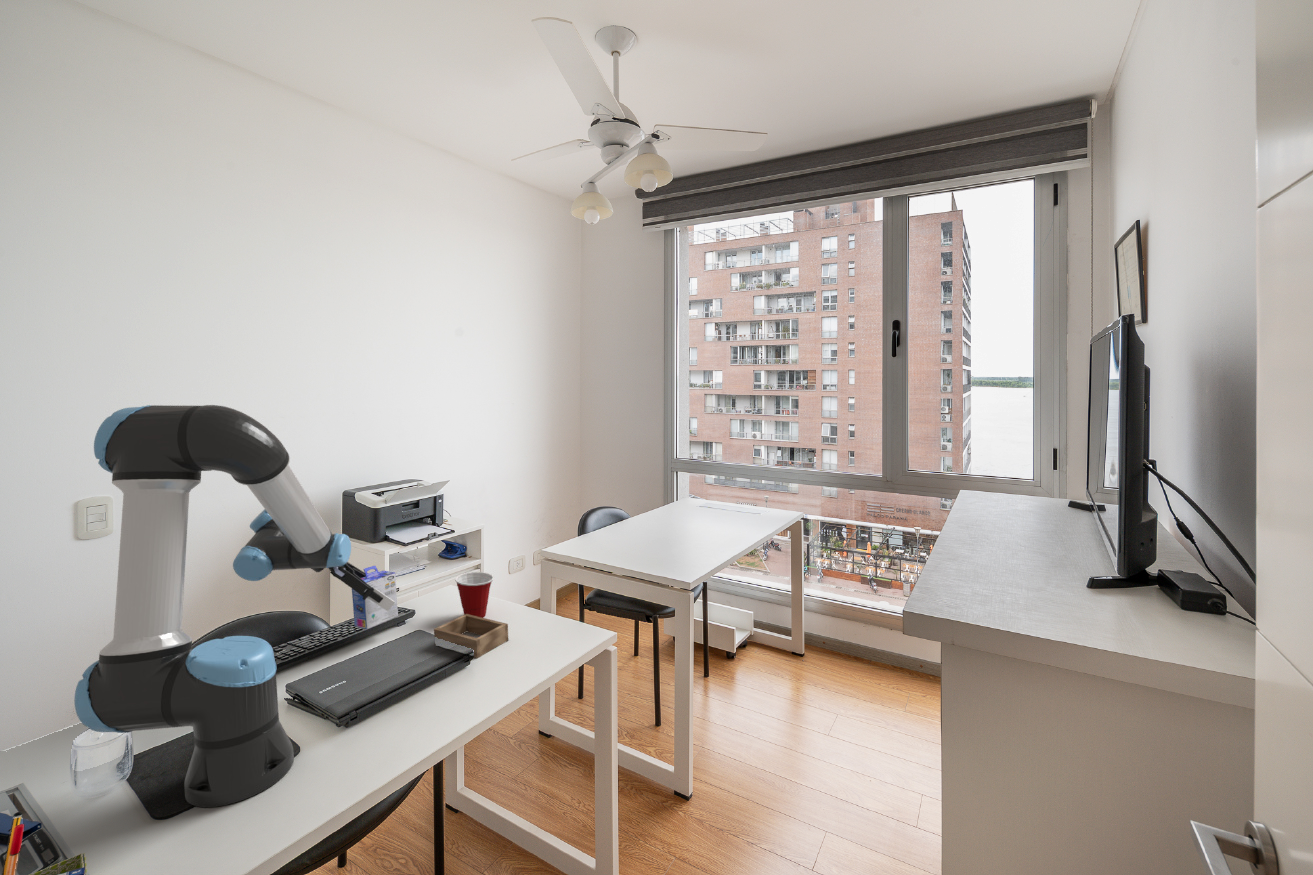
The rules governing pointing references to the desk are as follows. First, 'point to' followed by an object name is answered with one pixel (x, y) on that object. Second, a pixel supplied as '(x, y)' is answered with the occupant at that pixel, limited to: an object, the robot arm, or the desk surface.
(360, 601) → the ink cartridge box
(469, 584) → the plastic cup
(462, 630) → the open wooden box
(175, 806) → the desk surface
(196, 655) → the robot arm
